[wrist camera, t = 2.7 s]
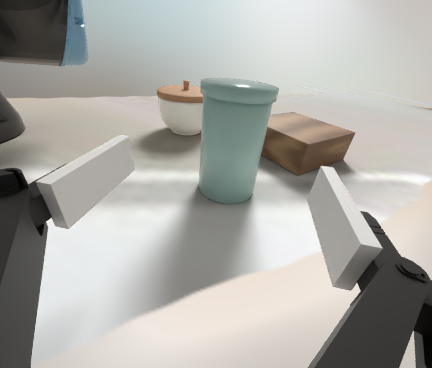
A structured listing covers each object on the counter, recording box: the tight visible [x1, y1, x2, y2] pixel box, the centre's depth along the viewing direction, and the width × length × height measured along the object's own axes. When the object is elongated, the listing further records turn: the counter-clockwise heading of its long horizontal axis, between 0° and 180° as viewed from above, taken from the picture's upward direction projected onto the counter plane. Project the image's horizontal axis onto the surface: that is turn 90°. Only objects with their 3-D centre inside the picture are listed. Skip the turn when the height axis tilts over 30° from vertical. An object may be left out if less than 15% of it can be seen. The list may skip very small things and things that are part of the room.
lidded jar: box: [157, 81, 203, 136], centre depth 41 cm, size 11×11×9 cm
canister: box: [199, 78, 279, 204], centre depth 24 cm, size 8×8×12 cm
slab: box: [261, 112, 355, 176], centre depth 38 cm, size 13×13×5 cm
